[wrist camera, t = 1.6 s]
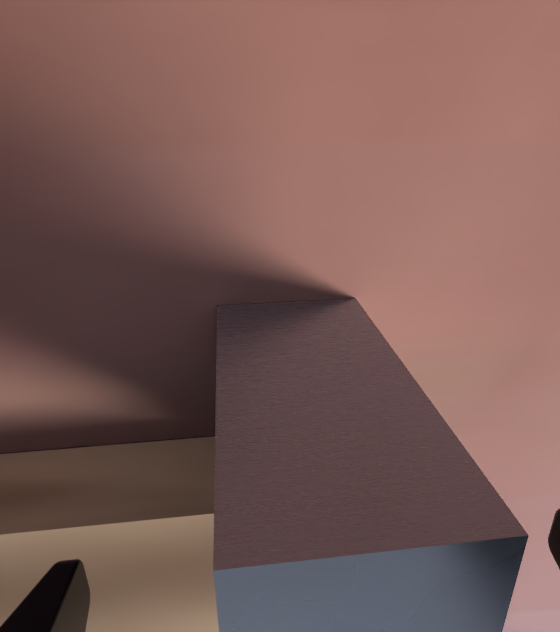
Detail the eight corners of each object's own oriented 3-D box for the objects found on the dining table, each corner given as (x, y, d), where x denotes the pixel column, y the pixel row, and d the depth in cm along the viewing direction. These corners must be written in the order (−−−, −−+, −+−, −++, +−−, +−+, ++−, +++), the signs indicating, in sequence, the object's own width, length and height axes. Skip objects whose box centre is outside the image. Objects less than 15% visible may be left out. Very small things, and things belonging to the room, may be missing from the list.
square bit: (348, 412, 14) (478, 715, 7) (225, 422, 14) (231, 752, 7) (355, 297, 13) (527, 534, 6) (217, 305, 13) (212, 570, 5)
